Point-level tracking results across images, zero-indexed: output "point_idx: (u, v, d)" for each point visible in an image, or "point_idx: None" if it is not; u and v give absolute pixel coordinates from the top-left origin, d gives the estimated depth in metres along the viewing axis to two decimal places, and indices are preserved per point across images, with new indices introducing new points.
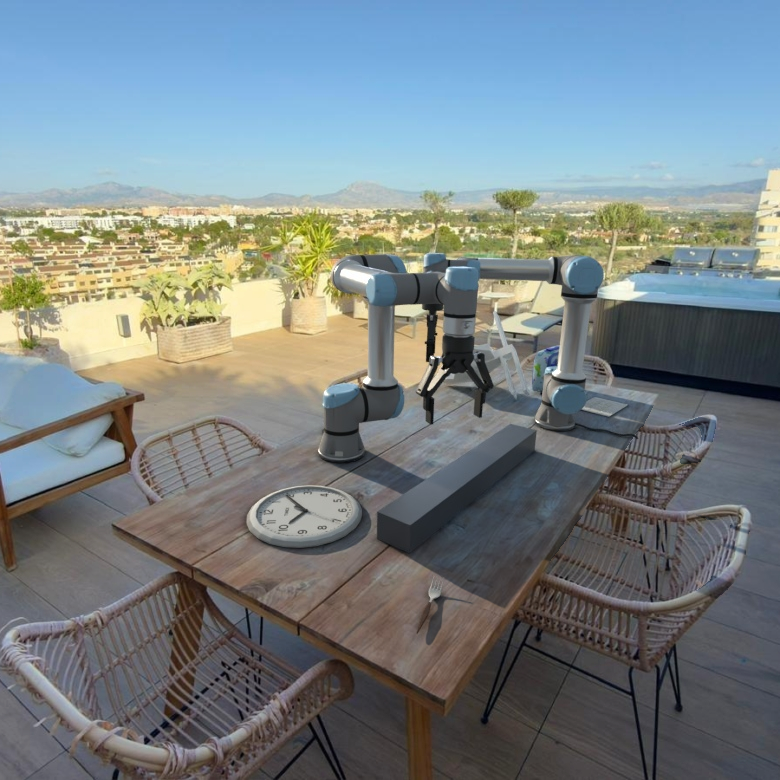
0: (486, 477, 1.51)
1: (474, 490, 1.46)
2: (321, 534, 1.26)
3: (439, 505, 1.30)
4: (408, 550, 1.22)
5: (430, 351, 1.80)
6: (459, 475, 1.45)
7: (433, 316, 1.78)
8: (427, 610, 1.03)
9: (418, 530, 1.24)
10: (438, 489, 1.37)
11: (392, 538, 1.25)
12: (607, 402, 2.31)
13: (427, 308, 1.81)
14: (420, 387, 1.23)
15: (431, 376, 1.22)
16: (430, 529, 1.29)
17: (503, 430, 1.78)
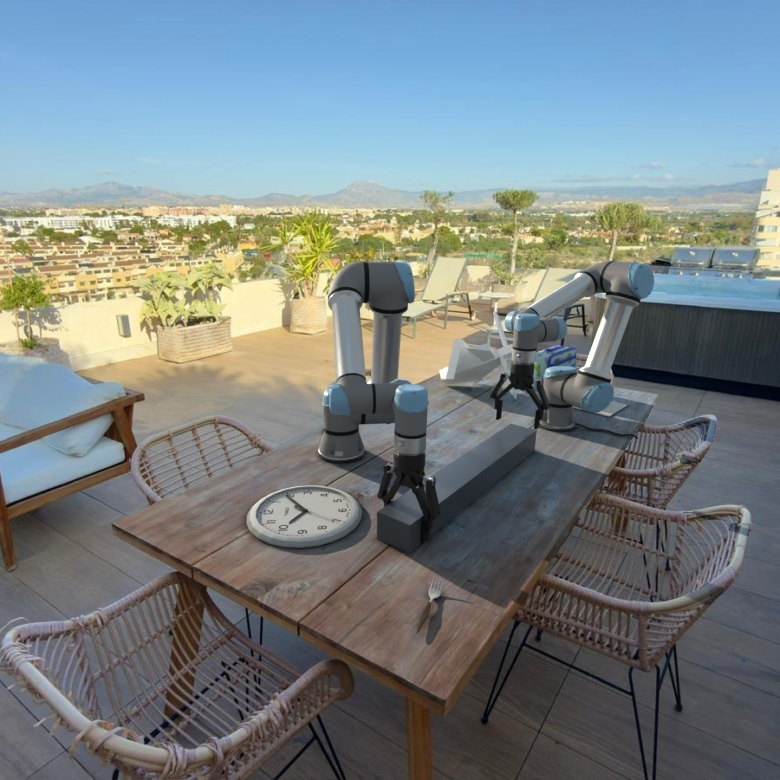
0: (486, 477, 1.51)
1: (474, 490, 1.46)
2: (321, 534, 1.26)
3: (439, 505, 1.30)
4: (408, 550, 1.22)
5: (542, 417, 1.70)
6: (459, 475, 1.45)
7: (542, 380, 1.67)
8: (427, 610, 1.03)
9: (418, 530, 1.24)
10: (438, 489, 1.37)
11: (392, 538, 1.25)
12: None
13: (530, 374, 1.67)
14: None
15: (383, 482, 1.29)
16: None
17: (503, 430, 1.77)
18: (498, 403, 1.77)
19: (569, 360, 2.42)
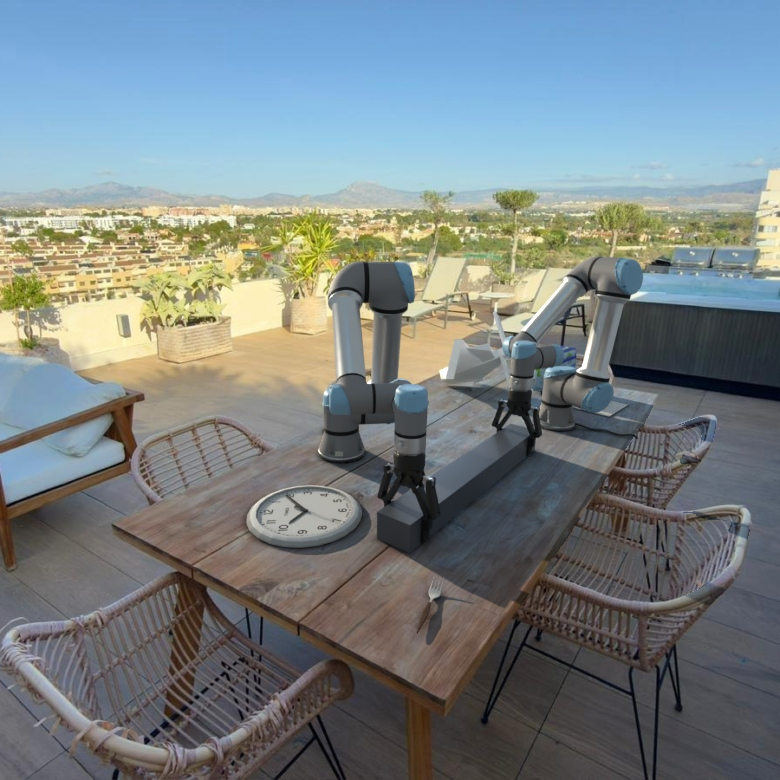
0: (486, 477, 1.51)
1: (474, 490, 1.46)
2: (321, 534, 1.26)
3: (439, 505, 1.30)
4: (408, 550, 1.22)
5: (534, 444, 1.74)
6: (459, 475, 1.45)
7: (539, 409, 1.70)
8: (427, 610, 1.03)
9: (418, 530, 1.24)
10: (438, 489, 1.37)
11: (392, 538, 1.25)
12: None
13: (527, 400, 1.70)
14: None
15: (383, 482, 1.29)
16: None
17: (503, 430, 1.77)
18: None
19: (569, 360, 2.42)
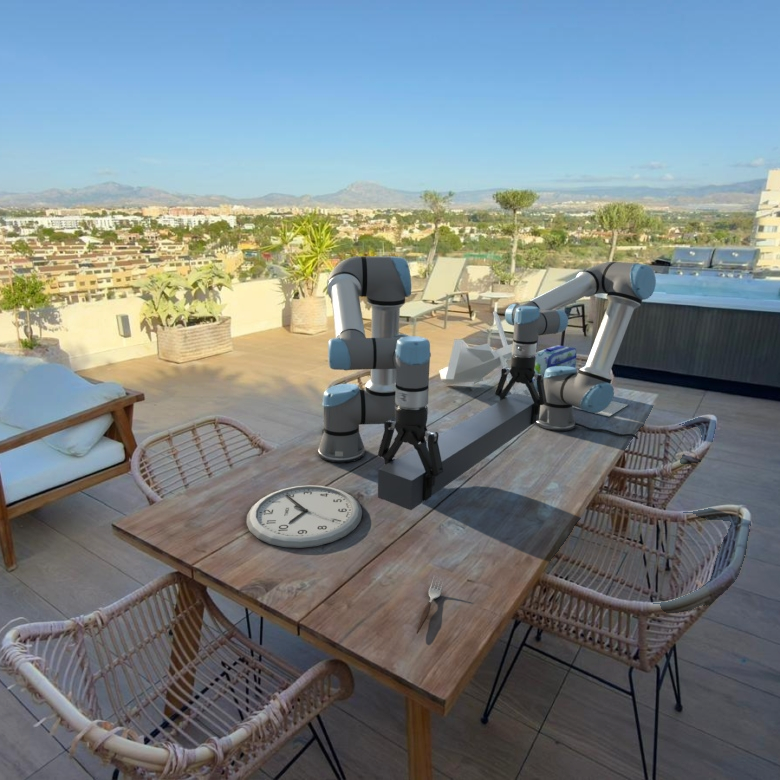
0: (490, 441, 1.48)
1: (478, 452, 1.43)
2: (321, 534, 1.26)
3: (442, 464, 1.27)
4: (410, 507, 1.19)
5: (539, 412, 1.70)
6: (462, 437, 1.42)
7: (543, 375, 1.67)
8: (427, 610, 1.03)
9: (420, 487, 1.21)
10: (440, 449, 1.34)
11: (394, 496, 1.22)
12: None
13: (530, 366, 1.66)
14: None
15: (384, 439, 1.25)
16: (433, 488, 1.26)
17: (507, 398, 1.74)
18: None
19: (569, 360, 2.42)
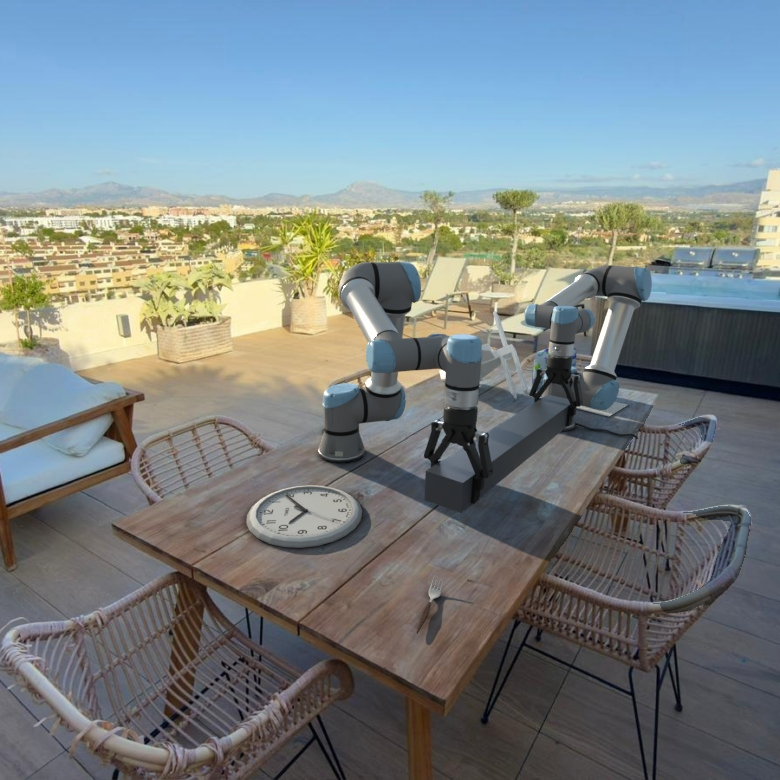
0: (531, 443, 1.45)
1: (520, 455, 1.40)
2: (321, 534, 1.26)
3: None
4: (459, 510, 1.16)
5: (574, 413, 1.67)
6: (505, 439, 1.39)
7: (580, 376, 1.64)
8: (427, 610, 1.03)
9: (469, 490, 1.18)
10: None
11: (442, 499, 1.18)
12: None
13: (567, 367, 1.63)
14: None
15: (431, 440, 1.22)
16: (480, 491, 1.23)
17: (541, 400, 1.71)
18: None
19: None
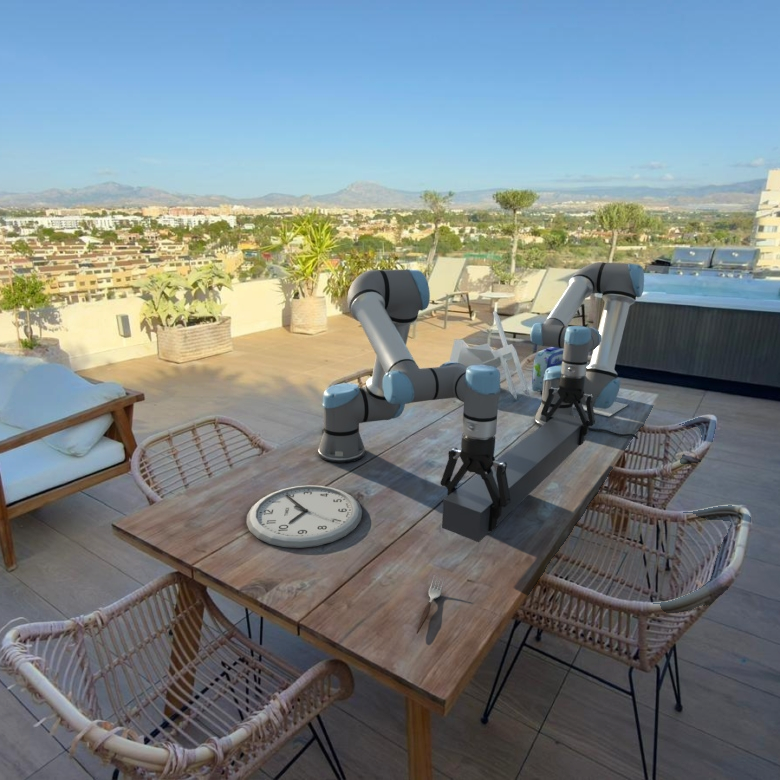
0: (545, 466, 1.46)
1: (535, 478, 1.41)
2: (321, 534, 1.26)
3: None
4: (477, 539, 1.17)
5: (587, 433, 1.68)
6: (519, 463, 1.40)
7: (592, 396, 1.65)
8: (427, 610, 1.03)
9: (487, 519, 1.19)
10: None
11: (460, 527, 1.19)
12: None
13: (580, 387, 1.64)
14: None
15: (448, 468, 1.23)
16: None
17: (553, 419, 1.72)
18: None
19: None
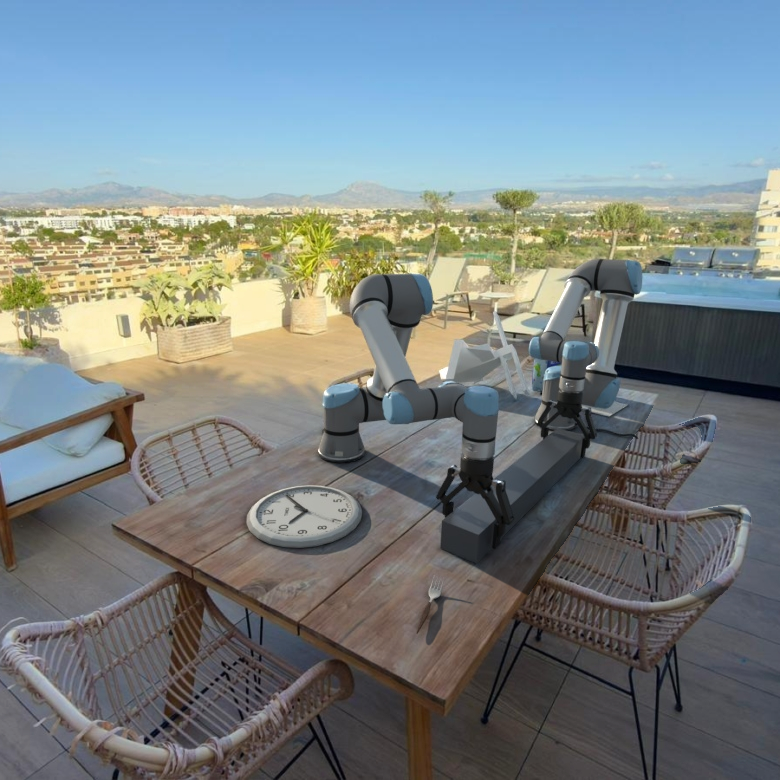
0: (543, 484, 1.48)
1: (532, 497, 1.43)
2: (321, 534, 1.26)
3: None
4: (475, 560, 1.19)
5: (589, 445, 1.69)
6: (517, 482, 1.41)
7: (590, 409, 1.66)
8: (427, 610, 1.03)
9: (485, 540, 1.21)
10: None
11: (458, 548, 1.21)
12: None
13: (578, 402, 1.66)
14: None
15: (445, 484, 1.25)
16: None
17: (551, 435, 1.74)
18: (545, 431, 1.75)
19: None
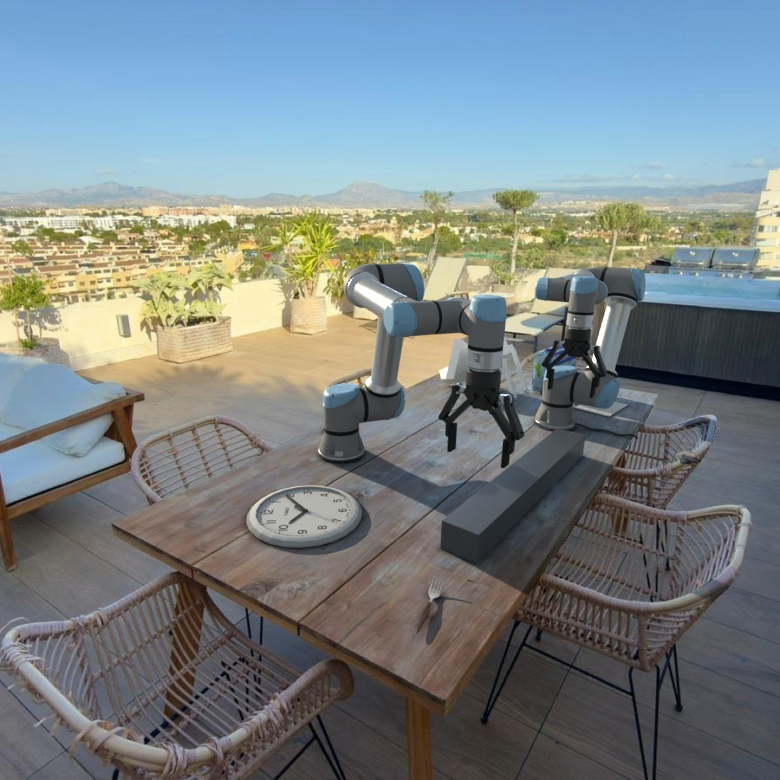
0: (543, 484, 1.48)
1: (532, 497, 1.43)
2: (321, 534, 1.26)
3: (503, 513, 1.27)
4: (475, 560, 1.19)
5: (598, 385, 1.62)
6: (517, 482, 1.41)
7: (599, 346, 1.60)
8: (427, 610, 1.03)
9: (485, 540, 1.21)
10: (499, 497, 1.33)
11: (458, 548, 1.21)
12: None
13: (586, 339, 1.60)
14: None
15: (449, 402, 1.19)
16: (495, 539, 1.25)
17: (551, 435, 1.74)
18: (550, 372, 1.69)
19: (569, 360, 2.42)
